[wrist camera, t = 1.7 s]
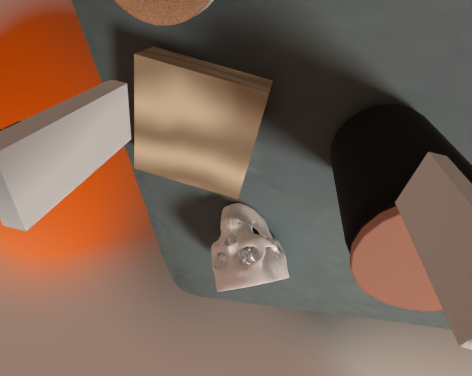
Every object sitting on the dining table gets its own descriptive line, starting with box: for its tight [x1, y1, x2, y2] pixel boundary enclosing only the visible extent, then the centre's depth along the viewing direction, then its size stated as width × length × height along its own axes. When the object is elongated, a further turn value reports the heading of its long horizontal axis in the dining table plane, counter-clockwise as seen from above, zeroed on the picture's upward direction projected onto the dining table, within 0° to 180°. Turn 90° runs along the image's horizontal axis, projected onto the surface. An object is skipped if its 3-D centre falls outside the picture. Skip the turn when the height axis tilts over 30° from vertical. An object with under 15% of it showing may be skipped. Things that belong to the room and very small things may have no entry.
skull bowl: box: [211, 203, 289, 292], centre depth 43 cm, size 10×14×12 cm
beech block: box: [134, 47, 273, 199], centre depth 34 cm, size 14×14×5 cm
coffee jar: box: [331, 104, 472, 311], centre depth 26 cm, size 11×11×18 cm
